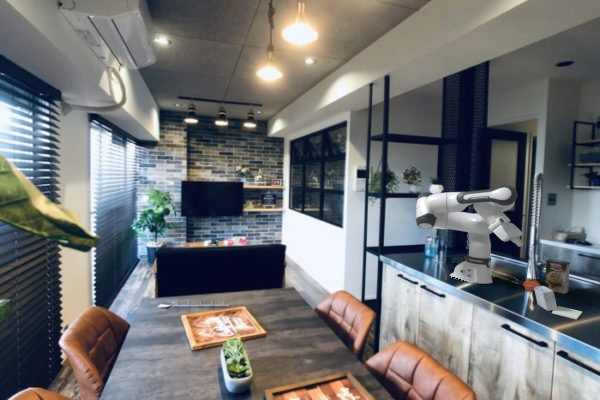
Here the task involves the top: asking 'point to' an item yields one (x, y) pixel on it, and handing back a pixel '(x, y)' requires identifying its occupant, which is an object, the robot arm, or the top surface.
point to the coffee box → (557, 275)
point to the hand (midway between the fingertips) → (521, 245)
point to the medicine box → (545, 298)
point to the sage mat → (567, 312)
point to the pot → (531, 284)
